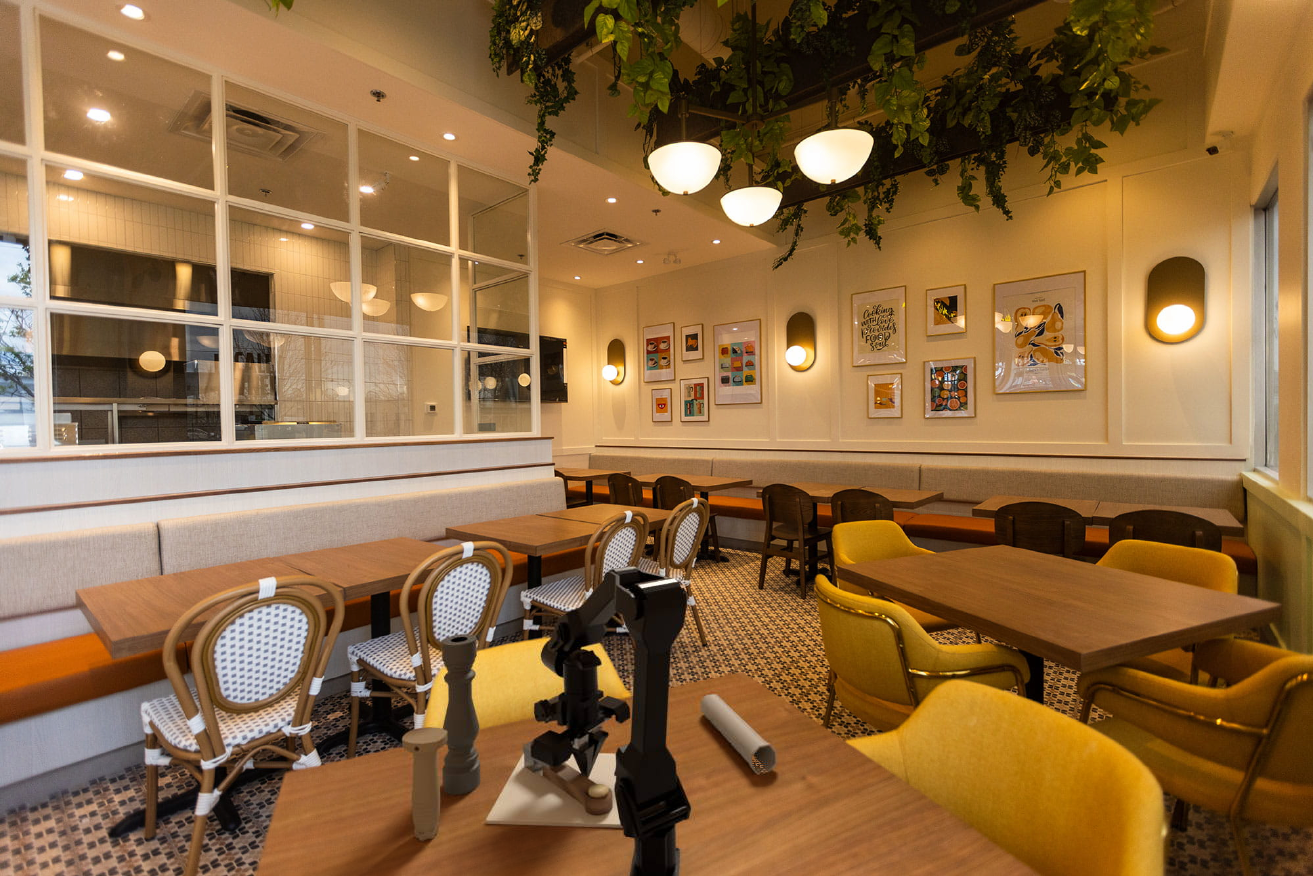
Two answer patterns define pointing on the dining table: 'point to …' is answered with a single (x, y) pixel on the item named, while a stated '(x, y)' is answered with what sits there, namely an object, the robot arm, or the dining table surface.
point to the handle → (425, 778)
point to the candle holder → (460, 716)
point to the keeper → (532, 760)
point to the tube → (739, 733)
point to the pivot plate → (554, 798)
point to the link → (578, 788)
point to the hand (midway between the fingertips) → (585, 777)
